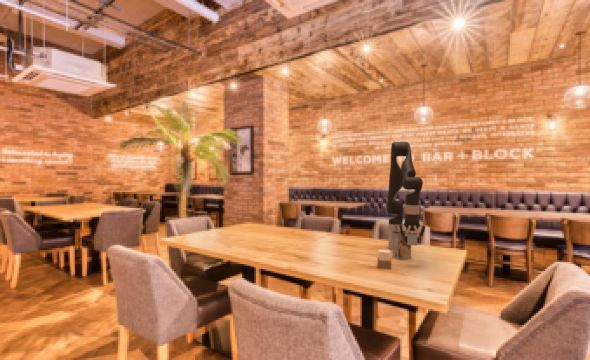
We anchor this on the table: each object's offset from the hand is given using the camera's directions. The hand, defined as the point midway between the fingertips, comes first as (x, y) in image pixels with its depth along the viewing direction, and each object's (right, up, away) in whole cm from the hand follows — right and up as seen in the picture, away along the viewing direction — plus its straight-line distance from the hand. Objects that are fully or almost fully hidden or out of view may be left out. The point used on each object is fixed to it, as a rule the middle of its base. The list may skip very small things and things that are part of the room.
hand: (411, 242), depth 164 cm
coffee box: (0, -13, +17) cm, 21 cm away
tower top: (-16, -9, -1) cm, 18 cm away
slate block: (0, -1, 0) cm, 1 cm away
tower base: (-16, -13, -1) cm, 21 cm away
